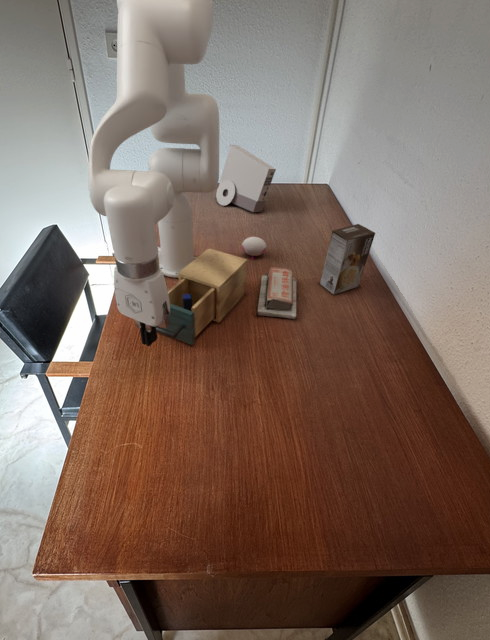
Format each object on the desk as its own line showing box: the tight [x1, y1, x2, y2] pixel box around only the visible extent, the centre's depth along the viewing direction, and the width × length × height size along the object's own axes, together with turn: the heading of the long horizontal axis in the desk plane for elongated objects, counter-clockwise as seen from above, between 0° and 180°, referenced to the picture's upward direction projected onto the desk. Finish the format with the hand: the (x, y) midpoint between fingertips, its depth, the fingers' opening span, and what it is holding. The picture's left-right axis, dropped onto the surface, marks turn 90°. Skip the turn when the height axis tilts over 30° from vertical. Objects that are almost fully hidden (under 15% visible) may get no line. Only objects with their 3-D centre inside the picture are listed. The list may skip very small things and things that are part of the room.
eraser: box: [183, 294, 192, 311], centre depth 89 cm, size 2×2×7 cm
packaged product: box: [257, 266, 297, 320], centre depth 99 cm, size 18×5×10 cm
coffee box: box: [319, 223, 376, 295], centre depth 100 cm, size 9×6×16 cm
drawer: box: [156, 278, 217, 346], centre depth 87 cm, size 18×10×9 cm, turn 150°
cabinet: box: [177, 248, 248, 324], centre depth 96 cm, size 15×12×11 cm
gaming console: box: [215, 144, 277, 213], centre depth 138 cm, size 23×8×20 cm, turn 43°
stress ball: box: [241, 236, 267, 260], centre depth 117 cm, size 8×8×7 cm
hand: (149, 341), depth 79 cm, fingers closed
